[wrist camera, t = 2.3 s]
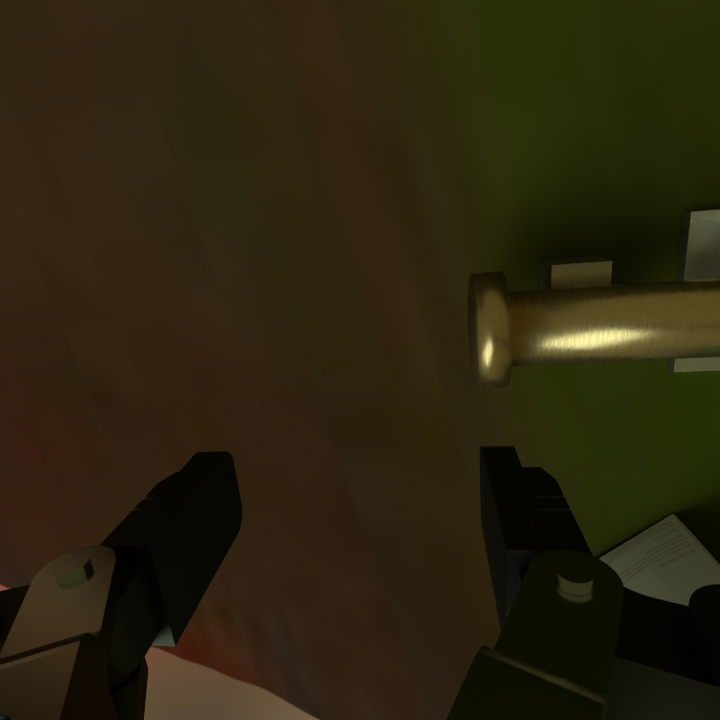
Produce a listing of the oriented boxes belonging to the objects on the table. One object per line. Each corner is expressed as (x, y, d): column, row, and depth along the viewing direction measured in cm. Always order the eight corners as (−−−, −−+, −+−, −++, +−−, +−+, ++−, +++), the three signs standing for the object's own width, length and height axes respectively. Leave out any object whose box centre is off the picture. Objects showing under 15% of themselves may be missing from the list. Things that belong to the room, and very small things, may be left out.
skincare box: (618, 622, 35) (748, 900, 21) (567, 567, 34) (667, 820, 20) (728, 564, 33) (957, 836, 19) (676, 504, 32) (875, 741, 18)
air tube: (886, 236, 23) (1025, 246, 18) (860, 349, 25) (980, 389, 19) (466, 266, 26) (478, 283, 20) (469, 366, 27) (480, 405, 22)
